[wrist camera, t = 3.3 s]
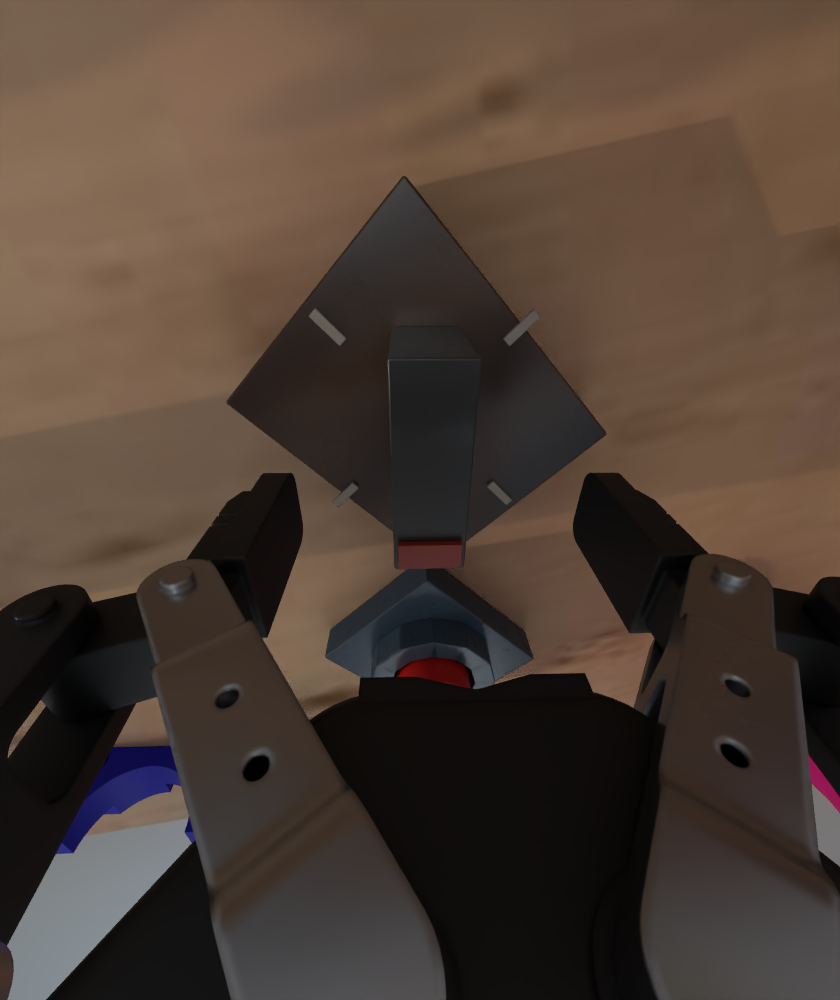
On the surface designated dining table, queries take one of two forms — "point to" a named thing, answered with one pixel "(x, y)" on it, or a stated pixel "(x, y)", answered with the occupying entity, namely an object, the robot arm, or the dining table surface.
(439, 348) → the selector knob handle
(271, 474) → the robot arm
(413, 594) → the button box
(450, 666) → the button
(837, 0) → the dining table surface
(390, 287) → the switch base
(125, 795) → the blue notched block
